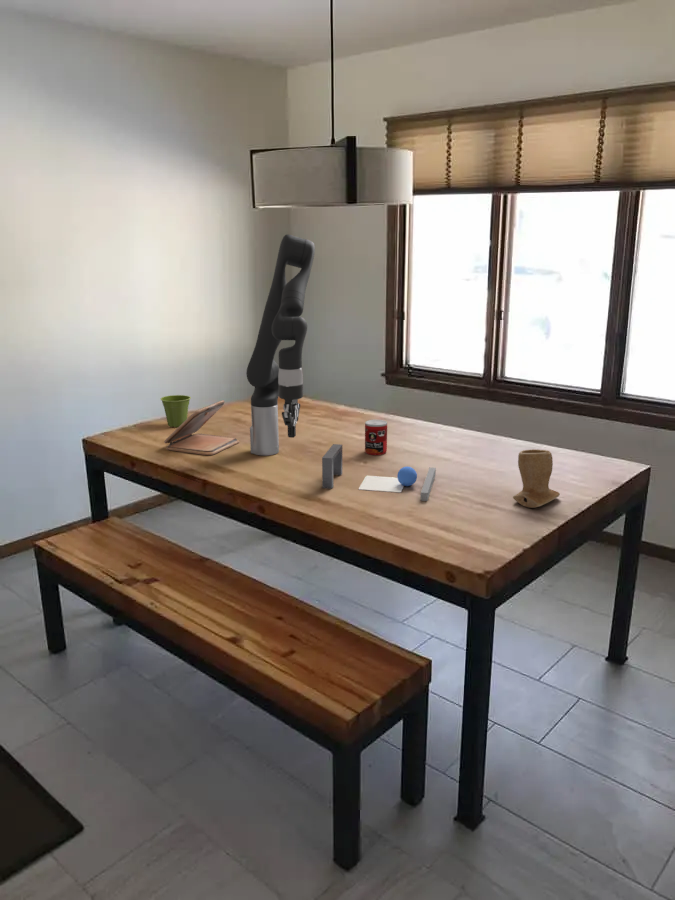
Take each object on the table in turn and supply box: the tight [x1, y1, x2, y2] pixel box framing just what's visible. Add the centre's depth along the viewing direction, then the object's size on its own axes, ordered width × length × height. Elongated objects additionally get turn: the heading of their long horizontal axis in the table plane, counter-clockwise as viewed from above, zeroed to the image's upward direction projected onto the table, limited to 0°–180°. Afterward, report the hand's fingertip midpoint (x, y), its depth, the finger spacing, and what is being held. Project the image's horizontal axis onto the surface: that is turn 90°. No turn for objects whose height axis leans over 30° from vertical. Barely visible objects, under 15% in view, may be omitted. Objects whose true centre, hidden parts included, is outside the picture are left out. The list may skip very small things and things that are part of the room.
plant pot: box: [160, 394, 192, 428], centre depth 301 cm, size 12×12×11 cm
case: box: [163, 399, 240, 456], centre depth 273 cm, size 20×21×16 cm
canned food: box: [364, 419, 388, 456], centre depth 265 cm, size 8×8×11 cm
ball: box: [396, 466, 418, 487], centre depth 232 cm, size 6×6×6 cm
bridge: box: [321, 443, 343, 490], centre depth 236 cm, size 3×15×10 cm, turn 167°
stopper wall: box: [420, 467, 437, 502], centre depth 231 cm, size 2×24×2 cm, turn 167°
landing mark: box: [358, 475, 405, 494], centre depth 234 cm, size 13×13×1 cm
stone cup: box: [512, 448, 561, 509], centre depth 218 cm, size 15×12×15 cm
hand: (291, 436), depth 236 cm, fingers closed
